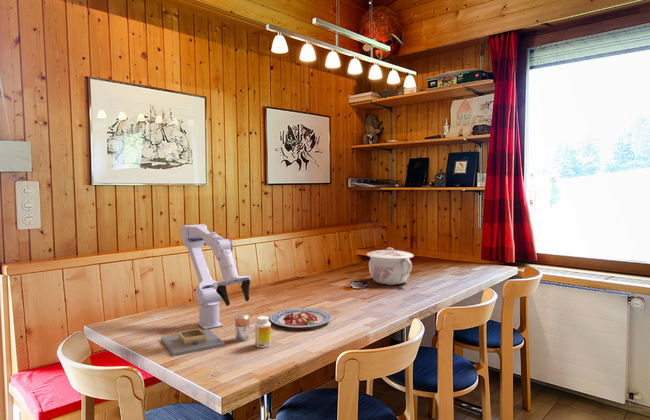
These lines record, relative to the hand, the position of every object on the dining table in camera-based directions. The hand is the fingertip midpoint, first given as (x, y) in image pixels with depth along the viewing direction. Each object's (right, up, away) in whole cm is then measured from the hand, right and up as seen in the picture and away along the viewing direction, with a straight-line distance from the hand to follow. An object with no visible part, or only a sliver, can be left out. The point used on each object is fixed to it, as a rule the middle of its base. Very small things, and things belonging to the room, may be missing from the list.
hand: (238, 302), depth 166 cm
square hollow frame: (-16, -14, -2) cm, 22 cm away
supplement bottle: (+10, -15, -4) cm, 18 cm away
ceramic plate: (+22, -13, +23) cm, 35 cm away
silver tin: (+1, -14, +2) cm, 14 cm away
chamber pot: (+70, -8, +95) cm, 118 cm away
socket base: (-16, -14, -2) cm, 22 cm away
